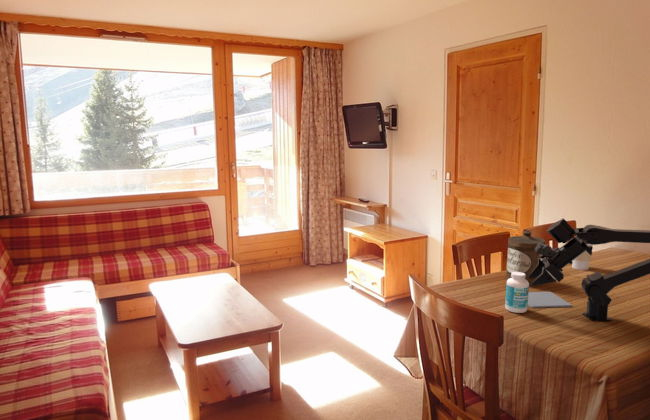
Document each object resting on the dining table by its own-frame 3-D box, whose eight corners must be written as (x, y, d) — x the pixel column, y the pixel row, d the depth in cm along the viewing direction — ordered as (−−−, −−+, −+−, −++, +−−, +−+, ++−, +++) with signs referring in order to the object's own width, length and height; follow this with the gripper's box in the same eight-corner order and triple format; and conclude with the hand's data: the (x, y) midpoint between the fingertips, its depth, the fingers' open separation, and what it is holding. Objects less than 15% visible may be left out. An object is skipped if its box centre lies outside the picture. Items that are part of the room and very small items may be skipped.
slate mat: (571, 306, 172) (572, 305, 172) (531, 307, 171) (531, 306, 171) (550, 293, 187) (550, 291, 187) (513, 294, 186) (513, 292, 186)
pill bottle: (513, 314, 165) (515, 277, 163) (500, 307, 172) (502, 271, 170) (531, 312, 167) (534, 275, 165) (518, 305, 174) (520, 269, 172)
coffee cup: (565, 266, 224) (567, 235, 221) (578, 264, 227) (580, 233, 225) (582, 271, 216) (585, 239, 213) (595, 268, 219) (598, 237, 217)
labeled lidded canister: (498, 277, 207) (501, 228, 204) (525, 274, 212) (528, 226, 209) (523, 287, 194) (526, 235, 190) (551, 283, 199) (555, 232, 195)
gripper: (547, 230, 171) (512, 257, 176) (555, 241, 153) (516, 271, 158) (569, 253, 170) (534, 279, 175) (580, 266, 152) (540, 296, 157)
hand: (530, 281), depth 166 cm, fingers open, 9 cm apart
